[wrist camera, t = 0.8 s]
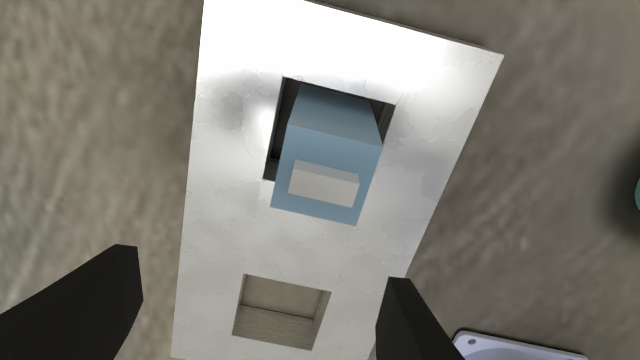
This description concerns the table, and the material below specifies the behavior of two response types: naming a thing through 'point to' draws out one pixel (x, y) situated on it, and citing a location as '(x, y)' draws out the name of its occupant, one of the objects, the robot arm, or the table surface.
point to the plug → (327, 156)
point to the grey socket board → (260, 170)
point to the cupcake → (637, 194)
